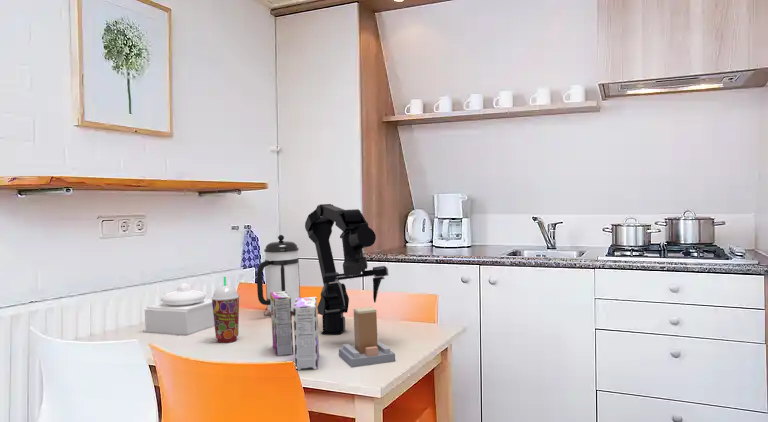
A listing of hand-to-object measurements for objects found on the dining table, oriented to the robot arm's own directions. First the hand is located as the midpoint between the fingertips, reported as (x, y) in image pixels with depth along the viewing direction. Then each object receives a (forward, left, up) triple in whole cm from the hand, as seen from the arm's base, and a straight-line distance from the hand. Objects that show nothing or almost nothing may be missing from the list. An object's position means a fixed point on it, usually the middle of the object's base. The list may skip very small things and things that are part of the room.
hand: (359, 304), depth 173 cm
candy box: (-11, -18, -12) cm, 24 cm away
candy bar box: (-22, -7, -12) cm, 26 cm away
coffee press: (-40, +43, -12) cm, 60 cm away
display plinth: (+4, -13, -12) cm, 19 cm away
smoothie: (-44, +4, -12) cm, 45 cm away
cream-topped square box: (+4, -13, -10) cm, 17 cm away
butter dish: (-67, +21, -13) cm, 71 cm away
